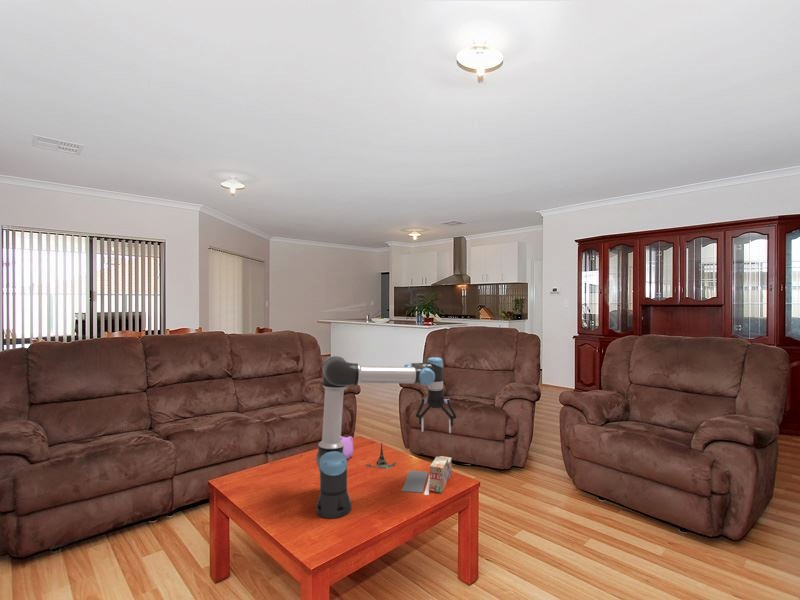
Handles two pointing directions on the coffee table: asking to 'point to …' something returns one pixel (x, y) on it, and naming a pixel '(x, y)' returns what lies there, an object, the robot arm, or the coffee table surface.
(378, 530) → the coffee table surface
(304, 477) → the coffee table surface
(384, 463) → the eiffel tower figurine
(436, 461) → the stack of blocks
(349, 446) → the teapot
